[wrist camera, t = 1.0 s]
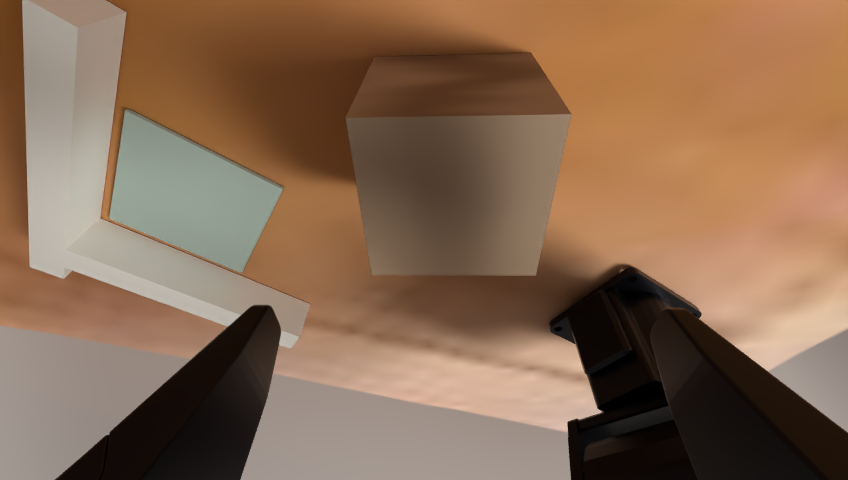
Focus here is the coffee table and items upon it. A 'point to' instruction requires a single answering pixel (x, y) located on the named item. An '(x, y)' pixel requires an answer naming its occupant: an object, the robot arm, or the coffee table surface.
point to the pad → (189, 194)
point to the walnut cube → (456, 162)
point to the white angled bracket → (86, 170)
